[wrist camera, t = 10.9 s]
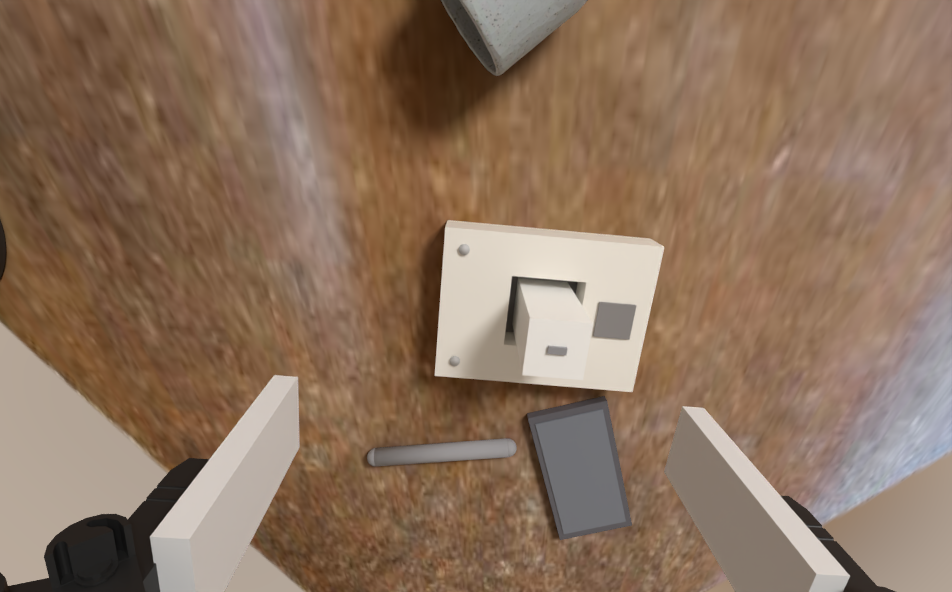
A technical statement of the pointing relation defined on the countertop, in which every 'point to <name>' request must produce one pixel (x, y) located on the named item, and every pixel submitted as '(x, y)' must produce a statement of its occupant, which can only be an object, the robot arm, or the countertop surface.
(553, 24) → the ceramic mug
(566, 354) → the charger block
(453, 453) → the grey rod
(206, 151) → the countertop surface
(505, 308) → the outlet plate
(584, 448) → the phone slab
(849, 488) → the countertop surface
